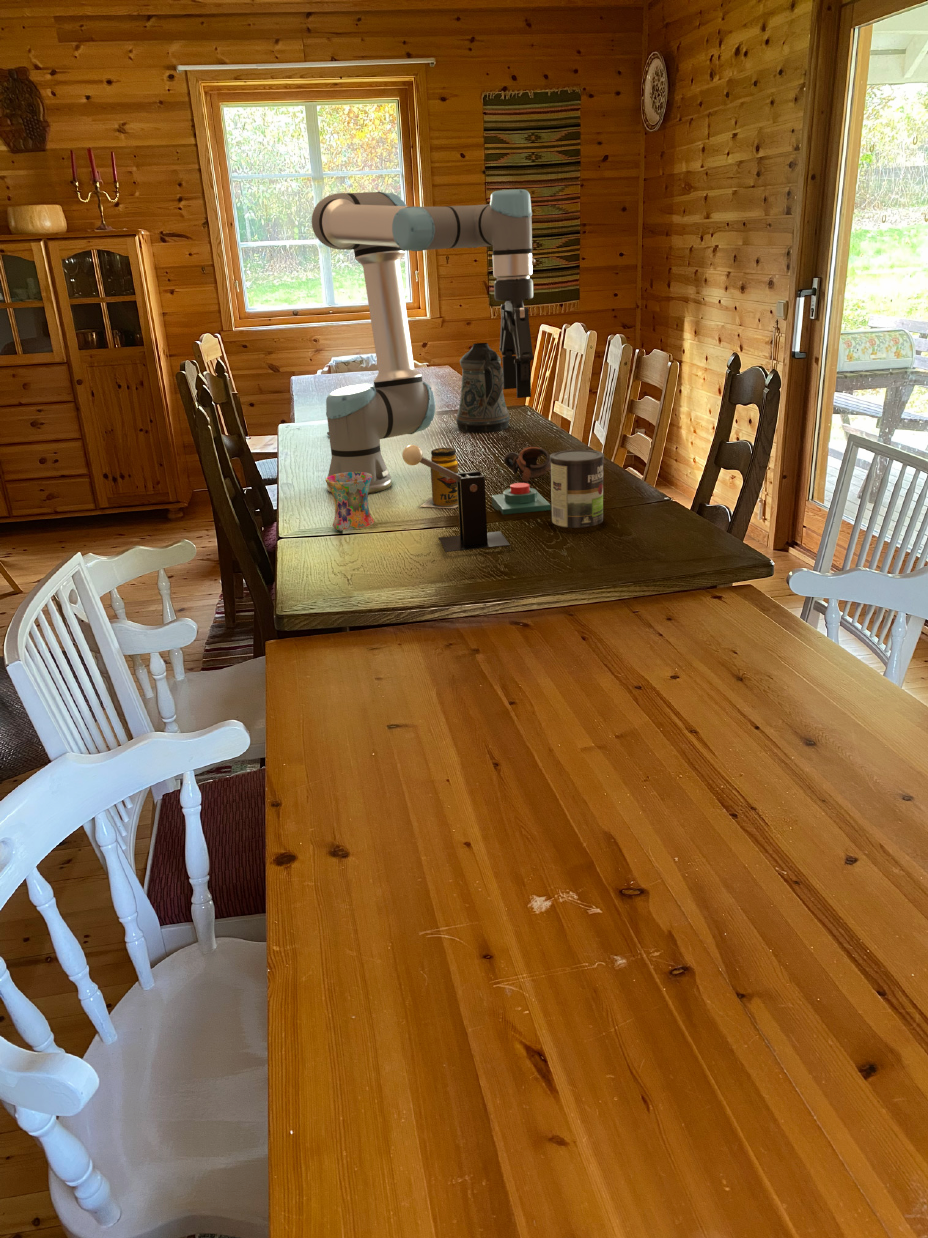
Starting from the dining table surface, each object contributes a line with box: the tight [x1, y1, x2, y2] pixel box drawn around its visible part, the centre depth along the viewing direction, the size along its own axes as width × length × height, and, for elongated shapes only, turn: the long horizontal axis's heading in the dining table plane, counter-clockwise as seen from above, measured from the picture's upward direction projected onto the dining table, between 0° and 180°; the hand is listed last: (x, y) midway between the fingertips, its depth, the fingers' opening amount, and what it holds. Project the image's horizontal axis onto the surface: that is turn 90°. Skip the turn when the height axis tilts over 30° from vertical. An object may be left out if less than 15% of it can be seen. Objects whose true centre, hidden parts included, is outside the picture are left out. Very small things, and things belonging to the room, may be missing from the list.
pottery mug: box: [503, 446, 551, 483], centre depth 218 cm, size 12×10×8 cm
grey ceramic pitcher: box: [455, 342, 511, 434], centre depth 276 cm, size 16×19×25 cm
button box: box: [491, 487, 552, 516], centre depth 192 cm, size 12×10×4 cm
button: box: [509, 482, 531, 494], centre depth 192 cm, size 4×4×2 cm
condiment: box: [419, 447, 459, 509], centre depth 199 cm, size 7×8×12 cm
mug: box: [324, 472, 375, 532], centre depth 186 cm, size 12×9×11 cm
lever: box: [401, 444, 471, 482], centre depth 165 cm, size 15×4×4 cm
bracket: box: [438, 470, 511, 553], centre depth 169 cm, size 12×9×14 cm
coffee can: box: [549, 448, 605, 529], centre depth 178 cm, size 10×10×14 cm
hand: (516, 392), depth 184 cm, fingers open, 12 cm apart
